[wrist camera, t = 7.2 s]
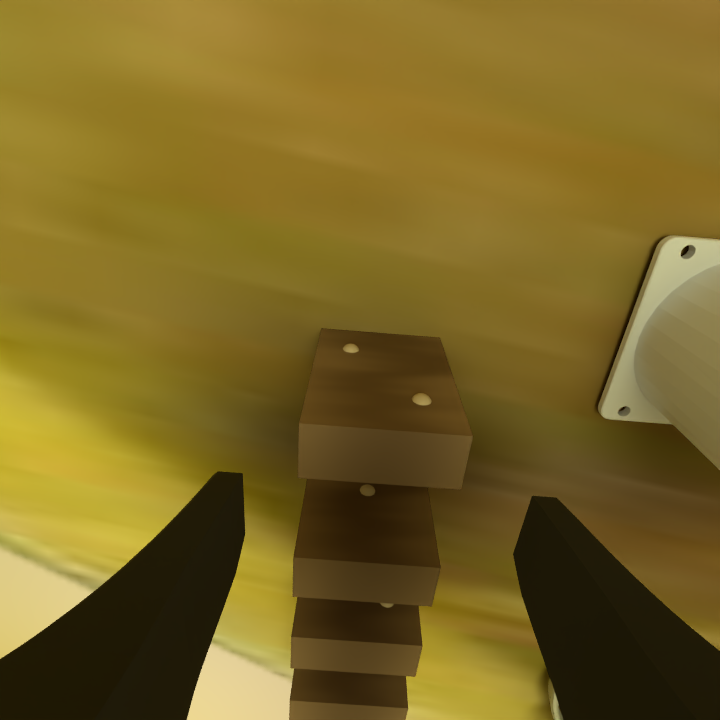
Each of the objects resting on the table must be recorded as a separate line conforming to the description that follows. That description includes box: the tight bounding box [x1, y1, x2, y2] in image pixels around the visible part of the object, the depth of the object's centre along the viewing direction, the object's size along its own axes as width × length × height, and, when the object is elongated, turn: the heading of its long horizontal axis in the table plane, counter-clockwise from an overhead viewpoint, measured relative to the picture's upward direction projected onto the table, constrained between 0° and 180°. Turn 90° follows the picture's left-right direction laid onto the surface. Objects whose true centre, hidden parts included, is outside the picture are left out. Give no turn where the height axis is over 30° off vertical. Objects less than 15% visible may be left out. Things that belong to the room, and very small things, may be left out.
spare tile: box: [298, 328, 473, 490], centre depth 17 cm, size 5×2×7 cm, turn 86°
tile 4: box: [289, 668, 408, 720], centre depth 23 cm, size 5×2×7 cm, turn 85°
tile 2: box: [293, 479, 440, 606], centre depth 19 cm, size 5×2×7 cm, turn 85°
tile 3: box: [291, 597, 422, 677], centre depth 21 cm, size 5×2×7 cm, turn 85°
